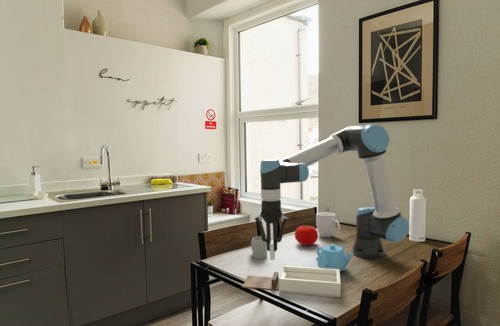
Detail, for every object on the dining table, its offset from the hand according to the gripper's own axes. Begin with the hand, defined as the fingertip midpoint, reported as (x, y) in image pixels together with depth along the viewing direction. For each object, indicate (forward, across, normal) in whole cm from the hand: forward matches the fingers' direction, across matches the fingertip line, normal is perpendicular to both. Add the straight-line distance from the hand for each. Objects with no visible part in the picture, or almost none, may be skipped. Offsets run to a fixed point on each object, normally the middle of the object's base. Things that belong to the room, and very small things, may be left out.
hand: (272, 258), depth 137 cm
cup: (+10, +12, -32) cm, 36 cm away
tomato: (+11, -10, -55) cm, 57 cm away
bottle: (+12, -70, -75) cm, 103 cm away
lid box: (+10, -14, 0) cm, 18 cm away
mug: (+11, -20, -73) cm, 76 cm away
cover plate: (+11, +4, 0) cm, 11 cm away
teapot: (+11, -24, -19) cm, 32 cm away
